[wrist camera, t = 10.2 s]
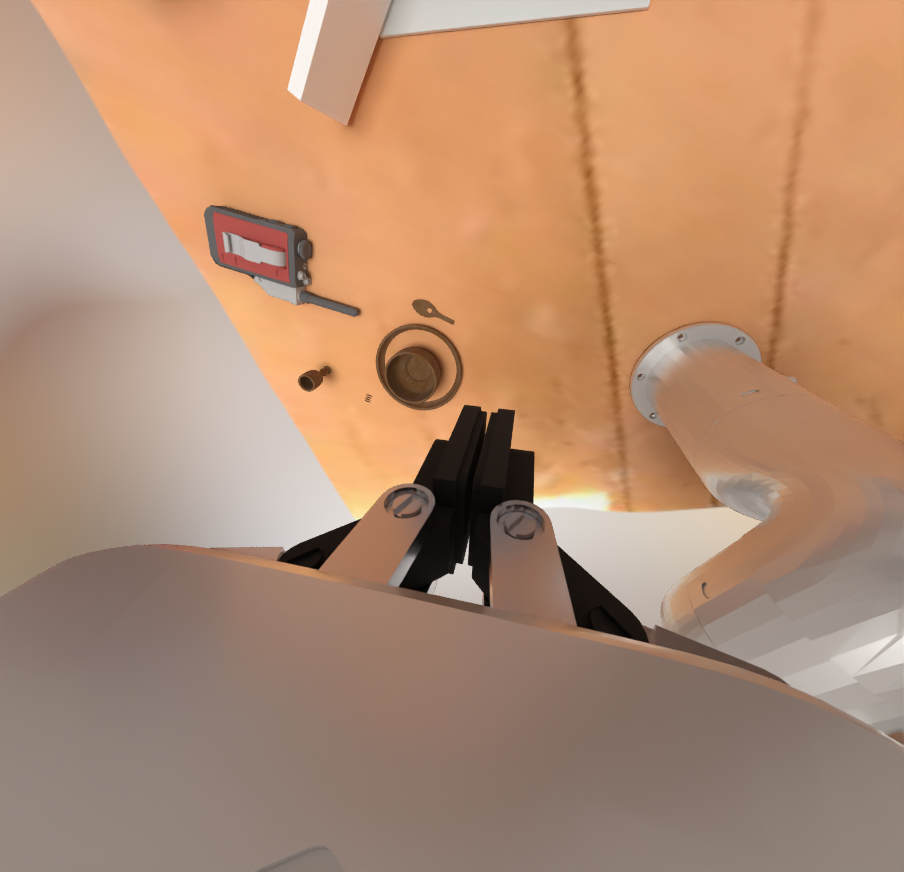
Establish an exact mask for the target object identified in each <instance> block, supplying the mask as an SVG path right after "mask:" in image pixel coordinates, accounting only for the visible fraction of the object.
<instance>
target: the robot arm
mask: <svg viewBox="0 0 904 872" xmlns="http://www.w3.org/2000/svg"><path fill="white" fill-rule="evenodd" d="M680 334H682V335H681V337H679V338H678V336H679V335H680ZM737 338H738V340H736V339H737ZM735 340H736V341H735ZM639 374H641V375H640V376H638V375H639ZM630 395H631V397H632V400H633V403H634V405H635V406H636V408H637V410H638V411H639V412H640V413H641V415H642V416H643V417H645V418H646V419H647V420H649V421H650V422H652V423H654V424H656V425H659V426H663V427H666V428H667V429H668V431H669V432H670V434H671V435H672V437H673V438H674V440H675V441H676V443H677V444H678V446H679V447H680V449H681V450H682V452H683V454H684V455H685V457H686V458H687V460H688V461H689V463H690V464H691V466H692V467H693V469H694V470H695V472H696V473H697V475H698V476H699V477H700V479H701V481H702V482H703V484H704V485H705V486H706V488H707V489H708V490H709V492H710V493H711V494H712V495H713V496H714V497H715V498H716V499H718V500H719V501H720V502H721V503H723V504H724V505H726V506H727V507H729V508H731V509H733V510H735V511H736V512H739V513H741V514H743V515H746V516H749V517H752V518H754V519H757V520H760V521H762V522H761V523H760V524H759V525H757V526H756V527H755V528H753V529H752V530H750V531H749V532H747V533H746V534H744V535H743V536H742V537H741V538H740V539H739V540H738V541H736V542H734V543H733V544H731V545H730V546H728V547H727V548H725V549H724V550H722V551H721V552H719V553H718V554H716V555H715V556H714V557H712V558H710V559H709V560H707V561H706V562H705V563H703V564H701V565H700V566H698V567H697V568H695V569H694V570H693V571H692V572H690V573H689V574H687V575H686V576H684V577H683V578H682V579H680V580H679V581H678V582H677V583H675V584H674V585H673V586H672V587H671V588H670V590H668V592H667V593H666V595H665V597H664V599H663V601H662V604H661V612H660V617H661V623H662V627H660V626H657V625H655V626H654V628H653V629H651V628H648V627H646V626H643V625H642V624H641V623H640V621H639V620H638V619H637V618H636V616H634V614H633V613H632V612H631V611H630V610H629V609H628V608H627V607H626V606H625V605H623V604H622V603H621V602H620V601H619V600H618V599H617V598H615V597H614V596H613V595H612V594H611V593H610V592H609V591H608V590H607V589H606V588H604V587H603V586H602V585H601V584H600V583H599V582H598V581H597V580H596V579H594V578H593V577H592V576H591V575H590V574H589V573H588V572H587V571H586V570H584V569H583V568H582V567H581V566H580V565H579V564H578V563H577V562H576V561H574V560H573V559H572V558H571V557H570V556H569V555H568V554H567V553H566V552H564V551H563V550H562V549H561V548H560V547H559V546H558V545H557V543H556V539H555V535H554V531H553V527H552V523H551V521H550V518H549V516H548V515H547V514H546V513H545V512H544V511H543V510H542V509H541V508H539V507H538V506H536V505H535V504H533V496H534V452H533V451H525V450H517V449H510V448H511V440H512V431H513V423H514V415H515V410H506V409H498V413H494V412H491V416H490V420H489V423H488V427H487V431H486V418H487V412H485V411H481V407H478V406H469V405H464V407H463V409H462V411H461V414H460V416H459V418H458V421H457V423H456V425H455V427H454V430H453V432H452V434H451V437H450V439H449V441H447V440H439V439H436V440H435V441H434V443H433V445H432V447H431V449H430V451H429V453H428V455H427V457H426V459H425V461H424V463H423V465H422V467H421V469H420V471H419V473H418V475H417V477H416V479H415V481H414V483H413V484H401V485H397V486H394V487H392V488H390V489H388V490H387V491H386V492H384V493H383V494H382V495H381V496H380V498H379V499H378V500H377V501H376V502H375V504H374V505H373V506H372V507H371V508H370V509H369V511H368V512H367V513H366V514H365V515H364V517H363V518H362V519H359V520H357V521H354V522H352V523H349V524H347V525H344V526H342V527H339V528H337V529H334V530H332V531H329V532H327V533H325V534H322V535H319V536H317V537H314V538H312V539H309V540H307V541H304V542H302V543H300V544H298V545H296V546H294V547H292V548H290V549H289V550H288V551H284V549H283V547H236V548H235V547H234V548H202V547H195V546H185V545H171V544H152V545H151V544H149V545H131V546H124V547H116V548H109V549H104V550H99V551H95V552H90V553H86V554H83V555H79V556H75V557H72V558H70V559H67V560H65V561H62V562H60V563H58V564H56V565H54V566H52V567H50V568H48V569H46V570H44V571H42V572H41V573H39V574H37V575H36V576H34V577H32V578H31V579H29V580H27V581H26V582H24V583H23V584H21V585H19V586H17V587H15V588H14V589H12V590H10V591H9V592H7V593H6V594H4V595H3V596H1V597H0V872H904V442H902V441H900V440H897V439H895V438H894V437H892V436H890V435H888V434H886V433H884V432H882V431H880V430H878V429H876V428H874V427H872V426H871V425H869V424H867V423H865V422H863V421H861V420H859V419H857V418H855V417H854V416H852V415H850V414H848V413H847V412H845V411H843V410H841V409H840V408H838V407H836V406H835V405H833V404H831V403H829V402H828V401H826V400H824V399H823V398H821V397H819V396H817V395H816V394H814V393H812V392H810V391H809V390H807V389H805V388H804V387H802V386H800V385H798V384H797V379H796V377H793V376H783V375H781V374H780V373H778V372H776V371H774V370H773V369H771V368H769V367H768V366H766V365H764V364H762V359H761V353H760V350H759V348H758V346H757V344H756V343H755V342H754V340H753V339H752V338H751V337H750V336H749V335H747V334H746V333H744V332H743V331H741V330H739V329H737V328H735V327H733V326H730V325H726V324H722V323H712V322H705V323H696V324H691V325H688V326H684V327H681V328H678V329H676V330H674V331H672V332H669V333H667V334H666V335H664V336H663V337H661V338H660V339H658V340H657V341H655V342H654V343H653V344H652V345H651V346H650V347H649V348H647V350H646V351H645V352H644V353H643V354H642V356H641V357H640V358H639V360H638V362H637V363H636V365H635V367H634V369H633V372H632V375H631V380H630ZM651 413H652V414H651ZM485 432H486V435H485ZM468 539H469V556H468V565H469V566H472V579H473V580H474V581H475V583H476V584H477V585H478V586H479V588H480V589H481V591H482V592H483V599H482V602H483V603H482V605H478V604H473V603H469V602H464V601H460V600H455V599H450V598H446V597H442V596H437V595H433V593H434V591H435V589H436V585H437V579H439V578H441V577H442V576H444V575H446V574H448V573H449V574H453V573H454V570H455V565H456V563H459V564H463V561H464V557H465V552H466V548H467V544H468Z"/></svg>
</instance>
